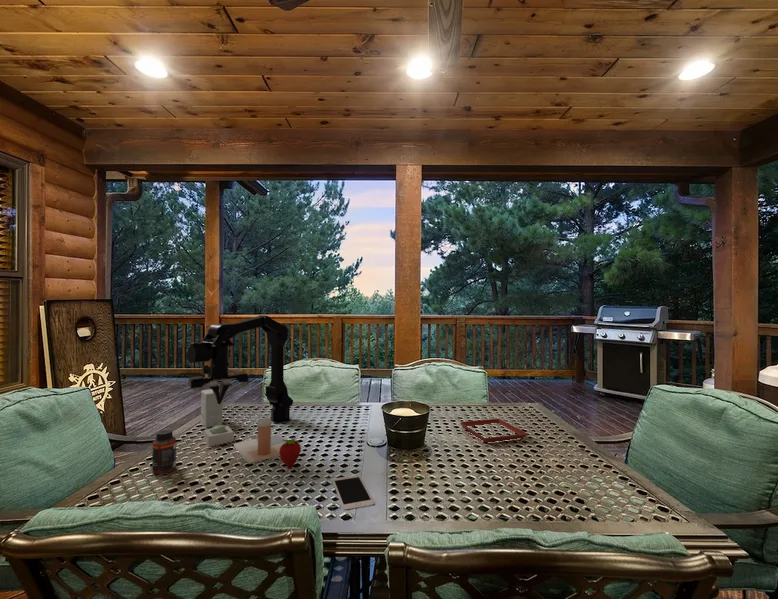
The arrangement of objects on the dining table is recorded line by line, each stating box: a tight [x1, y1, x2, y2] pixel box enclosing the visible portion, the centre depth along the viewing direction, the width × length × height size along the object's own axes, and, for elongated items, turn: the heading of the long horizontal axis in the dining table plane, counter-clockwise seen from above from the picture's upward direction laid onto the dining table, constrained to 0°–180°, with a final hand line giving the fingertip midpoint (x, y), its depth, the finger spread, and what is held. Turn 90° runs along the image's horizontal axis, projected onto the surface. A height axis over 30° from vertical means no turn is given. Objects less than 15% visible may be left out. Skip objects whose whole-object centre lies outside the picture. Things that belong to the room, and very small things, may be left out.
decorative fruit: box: [279, 434, 302, 469], centre depth 110 cm, size 6×8×10 cm
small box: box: [200, 388, 224, 428], centre depth 148 cm, size 8×6×13 cm
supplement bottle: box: [151, 429, 177, 475], centre depth 107 cm, size 6×6×11 cm
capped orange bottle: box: [257, 417, 272, 456], centre depth 119 cm, size 4×4×10 cm
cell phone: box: [331, 474, 375, 511], centre depth 97 cm, size 8×16×1 cm, turn 19°
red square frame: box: [459, 418, 528, 443], centre depth 139 cm, size 18×18×3 cm
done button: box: [211, 424, 226, 434], centre depth 130 cm, size 4×4×4 cm
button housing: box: [203, 425, 235, 448], centre depth 130 cm, size 8×8×4 cm
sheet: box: [232, 433, 286, 465], centre depth 124 cm, size 16×18×1 cm
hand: (219, 403), depth 130 cm, fingers closed
